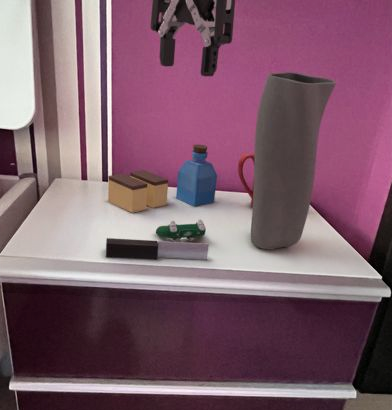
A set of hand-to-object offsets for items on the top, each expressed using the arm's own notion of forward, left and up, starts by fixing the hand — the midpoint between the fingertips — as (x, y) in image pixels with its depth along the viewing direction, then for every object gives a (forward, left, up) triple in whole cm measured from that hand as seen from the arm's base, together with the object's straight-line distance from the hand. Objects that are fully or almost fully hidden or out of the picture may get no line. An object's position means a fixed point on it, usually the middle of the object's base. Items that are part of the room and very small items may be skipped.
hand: (186, 70), depth 84 cm
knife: (-1, +2, -31) cm, 31 cm away
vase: (+22, -6, -31) cm, 38 cm away
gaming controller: (+8, +5, -31) cm, 32 cm away
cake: (+14, +25, -30) cm, 42 cm away
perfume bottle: (+27, +20, -31) cm, 46 cm away
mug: (+37, +9, -31) cm, 49 cm away
